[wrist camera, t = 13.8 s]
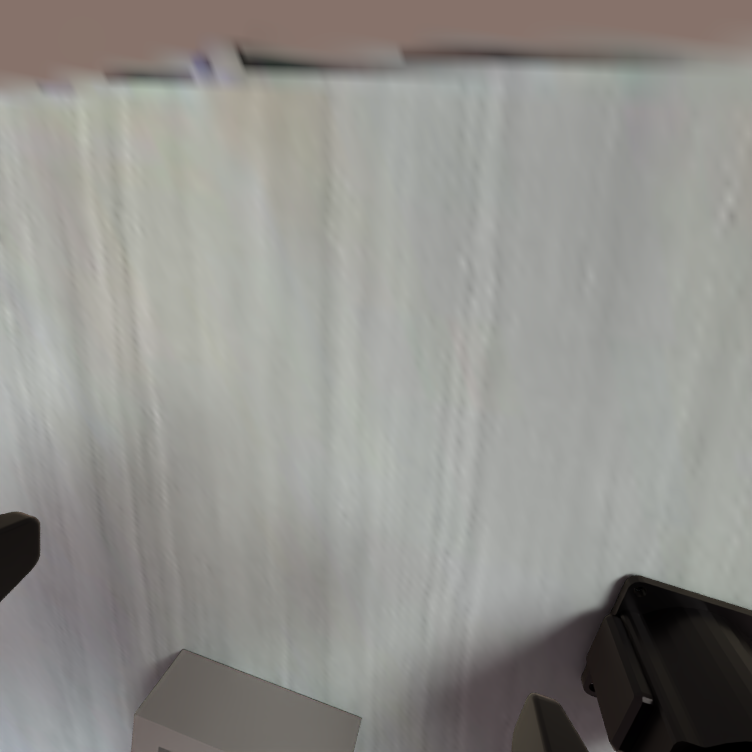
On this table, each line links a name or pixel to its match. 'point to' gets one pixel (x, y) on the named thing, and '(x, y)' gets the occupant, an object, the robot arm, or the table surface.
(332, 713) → the well block
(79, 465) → the table surface
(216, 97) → the table surface
